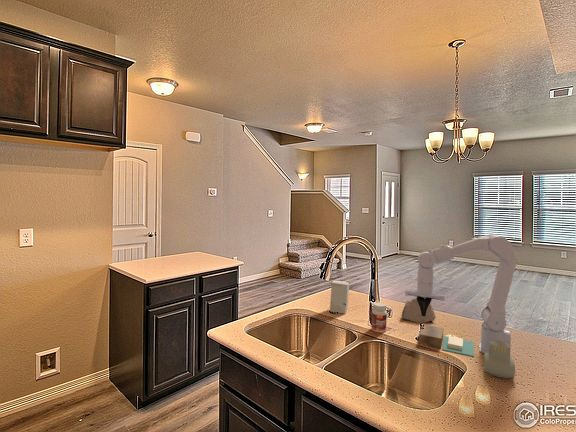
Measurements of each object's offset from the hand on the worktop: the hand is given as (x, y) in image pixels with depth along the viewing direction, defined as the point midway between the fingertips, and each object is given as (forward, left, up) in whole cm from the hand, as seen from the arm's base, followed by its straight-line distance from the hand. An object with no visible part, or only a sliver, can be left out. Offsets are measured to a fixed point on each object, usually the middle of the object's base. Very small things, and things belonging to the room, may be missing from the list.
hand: (423, 315), depth 134 cm
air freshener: (-25, +14, -11) cm, 31 cm away
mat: (-13, -2, -10) cm, 17 cm away
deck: (-3, -2, -10) cm, 11 cm away
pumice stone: (+5, -25, -11) cm, 27 cm away
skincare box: (+41, -16, -11) cm, 45 cm away
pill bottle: (+18, -2, -11) cm, 21 cm away
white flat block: (-12, -2, -8) cm, 15 cm away
